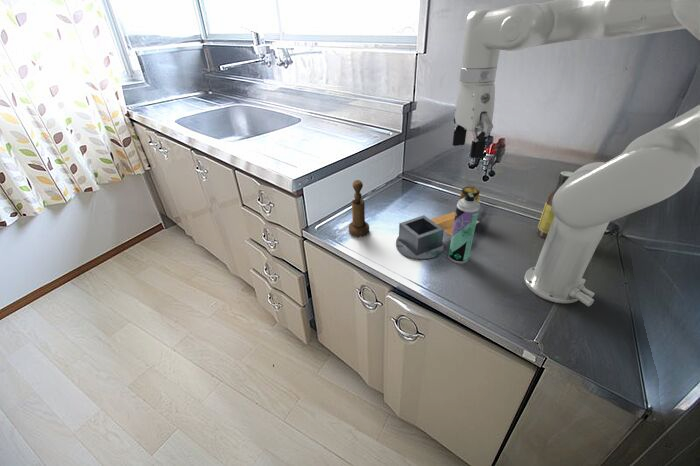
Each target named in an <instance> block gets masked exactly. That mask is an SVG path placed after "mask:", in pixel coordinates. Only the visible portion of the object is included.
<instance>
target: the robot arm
mask: <svg viewBox="0 0 700 466" xmlns="http://www.w3.org/2000/svg"><path fill="white" fill-rule="evenodd" d="M677 30H687V31H688V32H689V33H690V34H691V35H692V36H694V37H695V38H696V39H697V40H698V41H700V0H550V1H545V2H538V3H536V2H535V3H534V2H532V3H519V4H515V5H510V6H507V7H502V8H500V7H496V8H495V7H493V8H492V7H490V8H482V9H481V8H480V9H475V10H472V11H470V13H468V15H467V17H466V21H465V29H464V38H463V45H462V55H461V56H462V57H461V65H460V72H459V82H458V84H459V89H458V95H457V100H456V103H455V104H456V105H455V108H454V110H453V117H454V118H453V122H454V125H453V135H452V136H453V137H452V143H451V144H452V146H453V147H457V146H465V144H466V137H467V131H470V132H472V137H473V140H472V141H471V146H470V153H469V158H471V159H475V158H476V159H478V158H483V157H484V155H485V148H486V142H488V140H489V139H488V138H489V137H490V135H491V132H492V130H493V129H494V124H493V117H494V112H495V111H494V110H495V101H496V100H495V99H496V97H495V96H496V87H495V86H496V85H495V81H496V76H497V71H498V63H499V57H500V52H501V50H502V51H507V52H515V51H516V52H517V51H521V50H524V49H527V48H528V49H529V48H533V47H538V46H545V45H551V44H552V45H553V44H558V43H564V42H571V41H580V40H595V41H607V40H615V39H622V38H628V37H629V38H630V37H636V36H643V35H648V34H649V35H650V34H657V33H663V32H670V31H677ZM478 132H479V133H478ZM697 168H700V104H698V105H696V106H695V107H693V108H692V109H690V110H688V111H686V112H684V113H683V114H681V115H679V116H677V117H675V118H674V119H671V120H670V121H668V122H666V123H664V124H662V125H661V126H658V127H655V129H653V130H651V131H649V132H647V133H645V134H642V135H641V136H638V137H637V138H635V139H634V140H633V141H631V142H630V143H629V144H628V145H627V147H626V148H625V149H624V150H623V152H622V153H620V154H619V155H617V156H615V157H614V158H612V159H609V160H608V161H606V162H603V161H602V162H601V161H599V162H598V161H597V162H591V163H588V164H584V165H582V166H581V167H579V168H577V169H576V170H575V171H574V172H572V173H573V174H572V175H571V176H570V177H569V178H568V179H567V180H566V181H565V183H564V184H563V185H562V186H561V187H560V188H559V189H558V190H557V192H556V193H555V195H554V197H553V200H552V211H553V213H554V215H555V217H554V219H553V222H552V224H551V227H550V229H549V232H548V234H547V237H546V238H545V240H544V243H543V245H542V248H541V250H540V253H539V256H538V259H537V262H536V265H535V266H533V267H530V268H529V269H527V271H525V274H524V284H526V287H528V289H529V290H530V291H531V292H532V293H534V294H535V295H537V296H538V297H539V298H542V299H544V300H547V301H549V302H553V303H556V304H557V303H558V304H573V303H576V302H578V301H579V302H581V303H583V304H584V305H585V306H587V307H590V306H592V304H594V302H595V299H593V297H594V296H595V292H593V291H592V290H589V289H588V288H586V286H585V283H586V281H587V280H586V279H585V278H583V276H584V274H585V272H586V270H587V268H588V266H589V263H591V259H592V257H593V256H594V253H595V252H596V249H597V247H598V245H599V244H600V243H601V240H602V238H603V236H604V234H605V232H606V230H607V228H608V226H609V224H610V222H612V221H615V220H618V219H620V218H623V217H625V216H628V215H631V214H633V213H636V212H638V211H641V210H643V209H645V208H648V207H650V206H653V205H655V204H657V203H660V202H663V201H664V200H666V199H668V198H670V197H672V196H673V195H675V194H677V193H678V192H679V191H680V190H682V189H683V188H685V187H686V185H687V184H688V183H689V182H690V180H691V179H692V177H693V175H694V174H695V170H696V169H697Z"/></svg>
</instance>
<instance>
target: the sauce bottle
mask: <svg viewBox="0 0 700 466" xmlns="http://www.w3.org/2000/svg"><path fill="white" fill-rule="evenodd" d="M573 173H574V172H572V171H566V170H565V171H561V172H559V175H558V181H557V184H556V186H555V188H554V189H552V190H551V191H550V193H549V194H548V196H547V199H546V201H545V204H544V207H543V210H542V213H541V216H540V219H539V223H538V226H537V230H536V234H537V236H539V237H540V238H543V239H546V237H547V234H548V232H549V229H550V227H551V224H552V222H553V219H554V217H555V215H554V213H553V211H552V200H553V197H554V195H555V193H556V192H557V190H558V189H559V188H560V187H561V186H562V185H563V184H564V183H565V181H566V180H567V179H568V178H569V177H570V176H571V175H572V174H573Z"/></svg>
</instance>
